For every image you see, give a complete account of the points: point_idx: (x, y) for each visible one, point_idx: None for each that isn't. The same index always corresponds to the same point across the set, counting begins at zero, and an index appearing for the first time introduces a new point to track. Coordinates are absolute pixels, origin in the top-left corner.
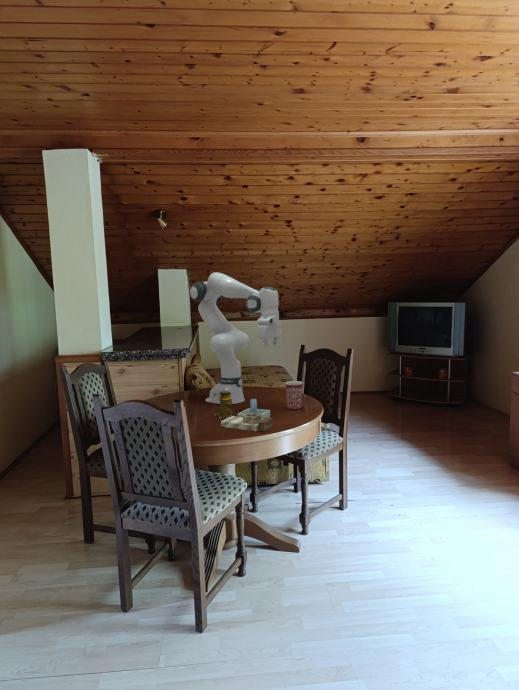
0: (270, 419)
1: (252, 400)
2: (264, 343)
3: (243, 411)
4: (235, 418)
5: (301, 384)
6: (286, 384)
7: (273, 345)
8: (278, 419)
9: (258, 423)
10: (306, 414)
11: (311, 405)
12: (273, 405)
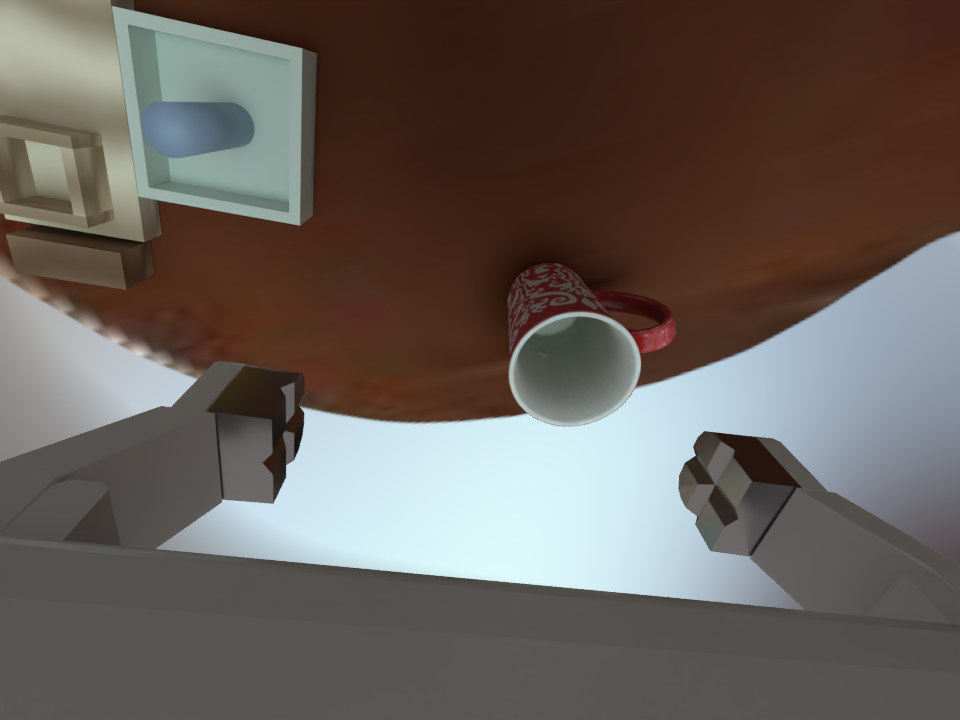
0: (104, 285)
1: (144, 128)
2: (126, 432)
3: (196, 34)
4: (62, 15)
5: (550, 420)
6: (530, 328)
7: (699, 441)
8: (293, 271)
9: (13, 234)
10: (428, 381)
11: None
12: (596, 157)
